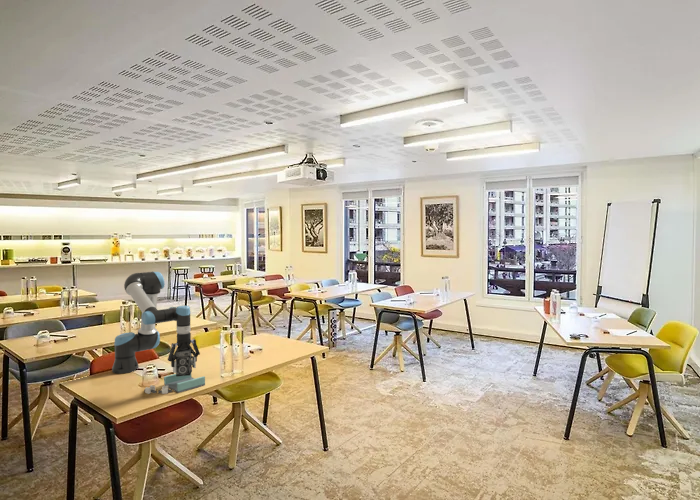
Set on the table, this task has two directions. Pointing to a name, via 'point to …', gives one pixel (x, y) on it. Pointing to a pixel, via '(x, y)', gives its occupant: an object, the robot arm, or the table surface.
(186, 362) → the camera
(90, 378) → the table surface
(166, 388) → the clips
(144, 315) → the robot arm
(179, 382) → the dock
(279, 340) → the table surface
